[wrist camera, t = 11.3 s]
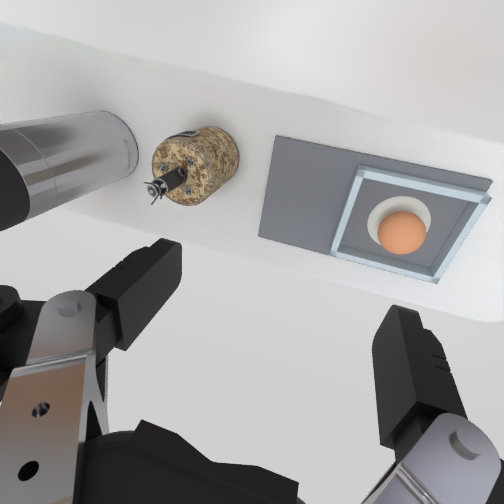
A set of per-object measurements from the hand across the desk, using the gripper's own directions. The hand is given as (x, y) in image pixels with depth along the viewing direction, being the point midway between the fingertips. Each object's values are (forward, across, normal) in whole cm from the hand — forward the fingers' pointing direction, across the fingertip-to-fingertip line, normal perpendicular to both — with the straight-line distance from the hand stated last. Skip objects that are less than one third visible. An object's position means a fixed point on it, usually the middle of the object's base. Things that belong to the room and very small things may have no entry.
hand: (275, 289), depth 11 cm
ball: (+27, -11, +7) cm, 30 cm away
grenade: (+28, +14, +4) cm, 32 cm away
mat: (+28, -6, +7) cm, 29 cm away
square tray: (+27, -11, +7) cm, 30 cm away
